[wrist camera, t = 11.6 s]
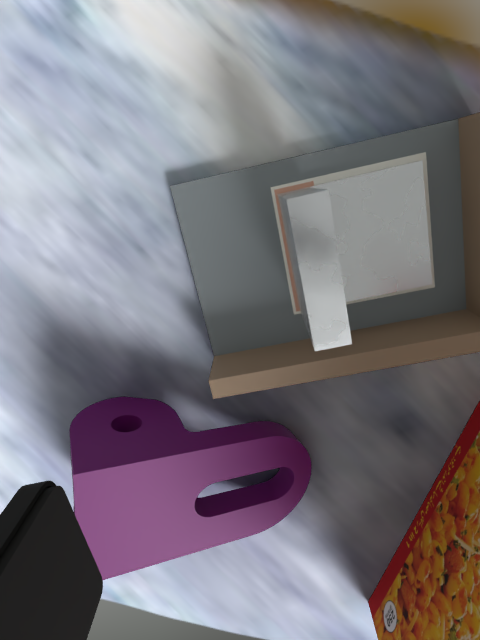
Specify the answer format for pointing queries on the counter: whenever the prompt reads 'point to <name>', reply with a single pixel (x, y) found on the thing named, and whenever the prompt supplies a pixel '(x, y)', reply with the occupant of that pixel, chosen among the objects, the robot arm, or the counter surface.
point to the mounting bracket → (174, 482)
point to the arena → (364, 314)
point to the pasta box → (438, 557)
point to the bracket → (355, 244)
